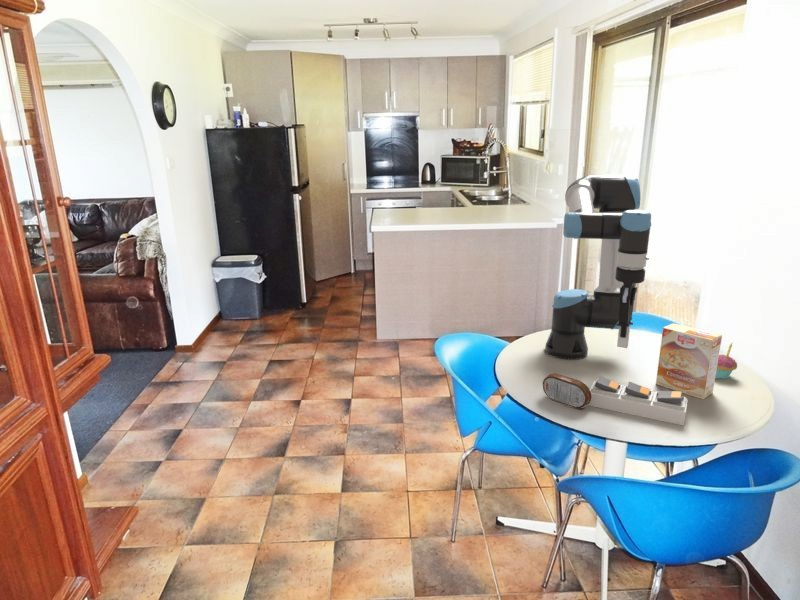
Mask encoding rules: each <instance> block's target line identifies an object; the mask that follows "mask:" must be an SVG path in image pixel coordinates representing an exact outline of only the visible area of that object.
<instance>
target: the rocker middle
mask: <svg viewBox="0 0 800 600" xmlns="http://www.w3.org/2000/svg"><path fill="white" fill-rule="evenodd" d="M626 386H627V389H626V391H625V393H627V394H630V395H632V396H635V397H639V398H644V399H647V398H648V395H649V392H650V390H651V389H650V388H648V387H645V386H643V385H640V384H638V383H634V382H631V381H628V384H627V385H626Z"/></svg>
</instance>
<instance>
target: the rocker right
mask: <svg viewBox="0 0 800 600" xmlns="http://www.w3.org/2000/svg"><path fill="white" fill-rule="evenodd" d="M657 392H658V396H657V401H659V402H664V403H674V404H681V403H682V396H683V393H682V391H676V390H658V391H657Z"/></svg>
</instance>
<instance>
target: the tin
mask: <svg viewBox="0 0 800 600" xmlns="http://www.w3.org/2000/svg"><path fill="white" fill-rule="evenodd" d="M542 390H543V393H544V394H545V396H546V397H547V398H548V399H549V400H552V401H554V402H557V403H560V404H563V405H565V406H567V407H570V408H573V409H576V410H577V409H578V410H579V409H582V408H585V407H586V406H589V405H588V404H589V403H590V401H591V392H590V388H589V386H587V384H585V382H583V381H581V380H578V379H576V378H572V377H570V376H566V375H563V374H561V373H557V372H552V373H550V374H548V375H547V376H545V377H544V379H543V381H542Z"/></svg>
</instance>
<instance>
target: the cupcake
mask: <svg viewBox="0 0 800 600" xmlns="http://www.w3.org/2000/svg"><path fill="white" fill-rule="evenodd" d="M732 347H733V342H731V344H729V347H728V350H727V352H726V355H725V354H719V357H718V364H717V370H716V376H715V379H720V380H725V379H726V378H727V379H729V377H730V375H731V374H732V372H733V371H734V370H737V368H738V363H737V361H736V359H734V358H733V357H731V356H729V355H730V352H731V349H732Z"/></svg>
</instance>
